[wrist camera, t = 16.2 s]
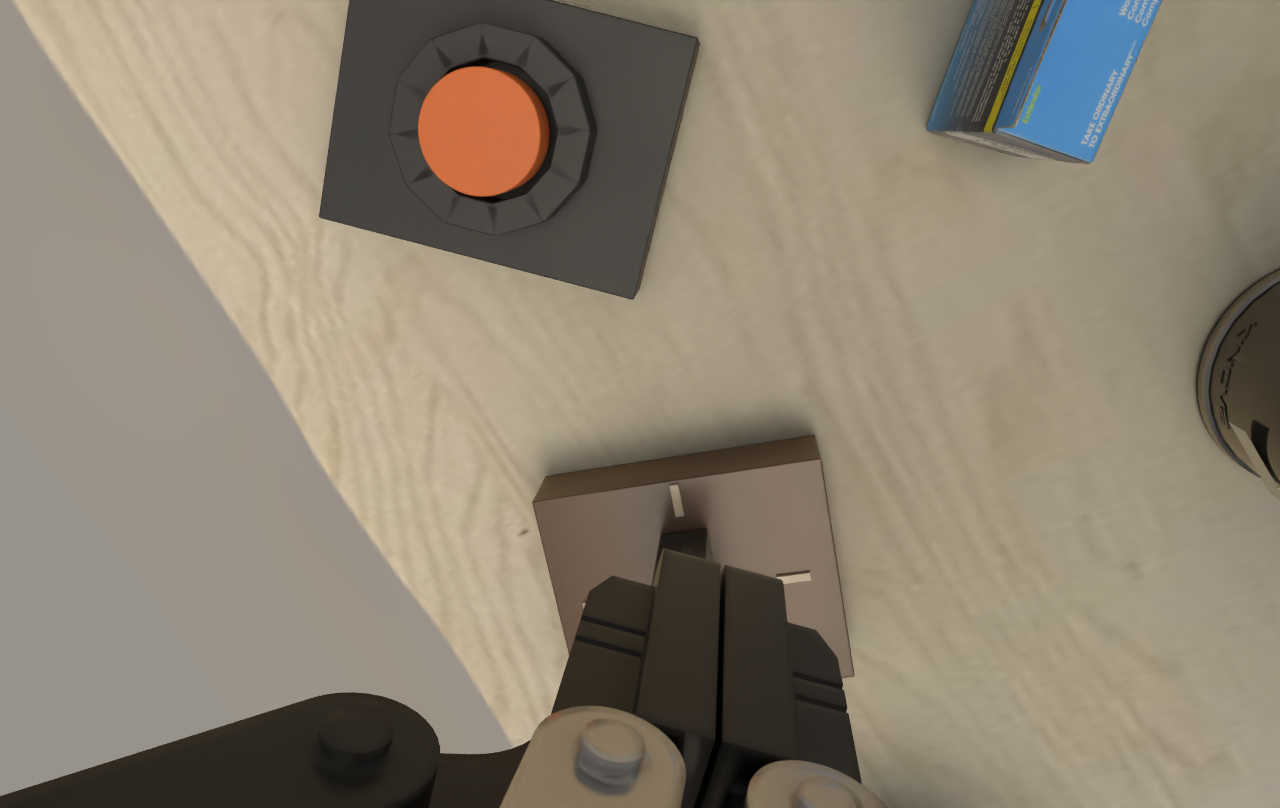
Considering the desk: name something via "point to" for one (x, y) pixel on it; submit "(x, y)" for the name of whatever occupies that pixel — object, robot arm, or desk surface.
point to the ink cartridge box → (1041, 75)
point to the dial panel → (700, 527)
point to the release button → (483, 131)
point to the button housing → (578, 142)
